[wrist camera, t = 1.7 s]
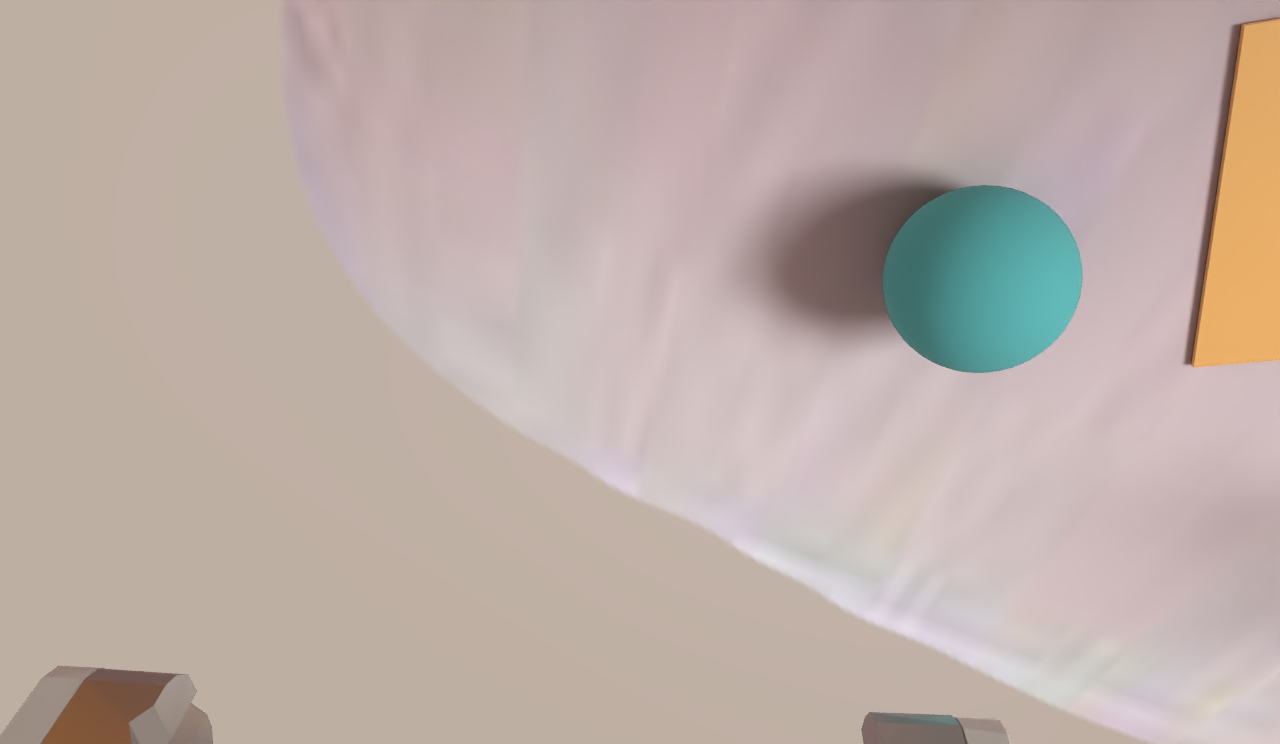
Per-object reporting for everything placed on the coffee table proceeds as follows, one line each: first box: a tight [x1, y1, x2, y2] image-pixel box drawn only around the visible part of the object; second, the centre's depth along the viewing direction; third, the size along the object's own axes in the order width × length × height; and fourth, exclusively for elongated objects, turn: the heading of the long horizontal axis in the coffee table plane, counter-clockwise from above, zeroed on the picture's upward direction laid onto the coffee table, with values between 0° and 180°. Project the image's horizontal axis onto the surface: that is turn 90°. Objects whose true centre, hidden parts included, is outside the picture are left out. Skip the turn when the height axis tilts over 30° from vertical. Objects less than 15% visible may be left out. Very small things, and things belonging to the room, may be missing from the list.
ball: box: [883, 185, 1082, 373], centre depth 28 cm, size 6×6×6 cm
